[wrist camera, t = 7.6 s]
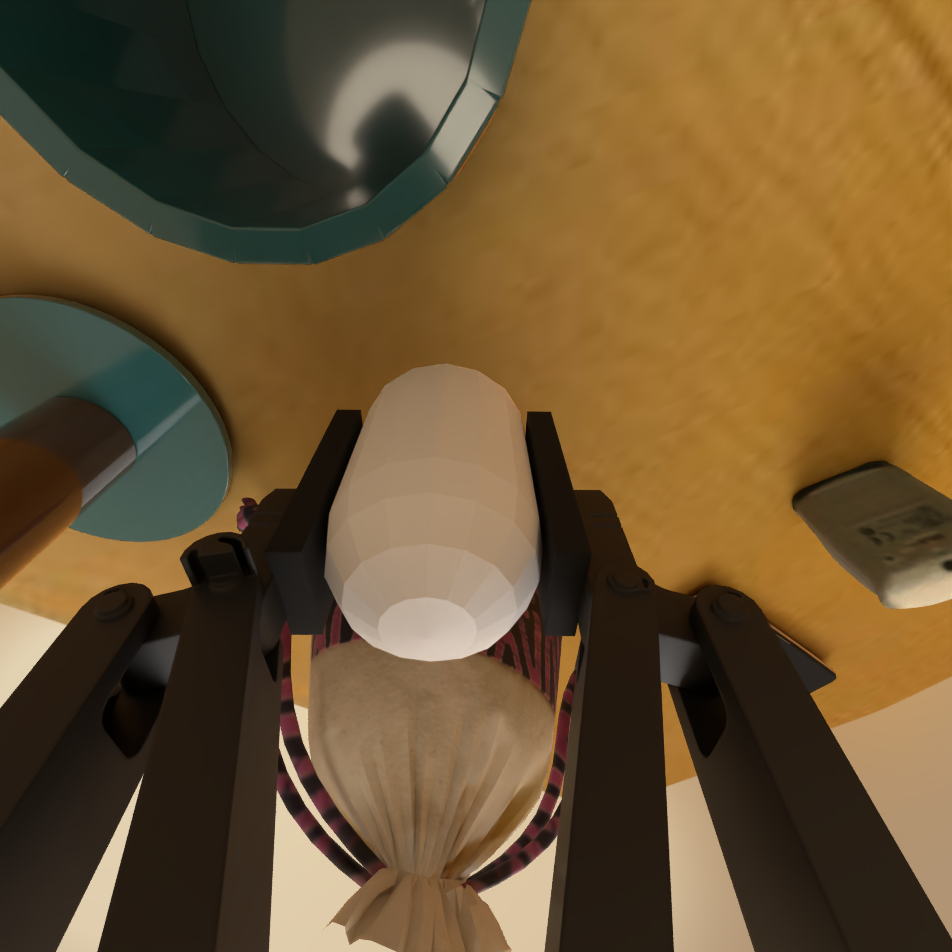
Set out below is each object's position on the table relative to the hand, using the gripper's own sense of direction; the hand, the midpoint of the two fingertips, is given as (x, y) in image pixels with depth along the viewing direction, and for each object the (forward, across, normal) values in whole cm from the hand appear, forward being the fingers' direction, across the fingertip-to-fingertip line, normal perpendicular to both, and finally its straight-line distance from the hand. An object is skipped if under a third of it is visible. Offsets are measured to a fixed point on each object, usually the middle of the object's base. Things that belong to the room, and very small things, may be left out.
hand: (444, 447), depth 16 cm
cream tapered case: (+9, +22, -7) cm, 25 cm away
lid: (+8, -19, -4) cm, 21 cm away
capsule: (0, 0, 0) cm, 1 cm away
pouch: (+9, -1, -14) cm, 17 cm away
